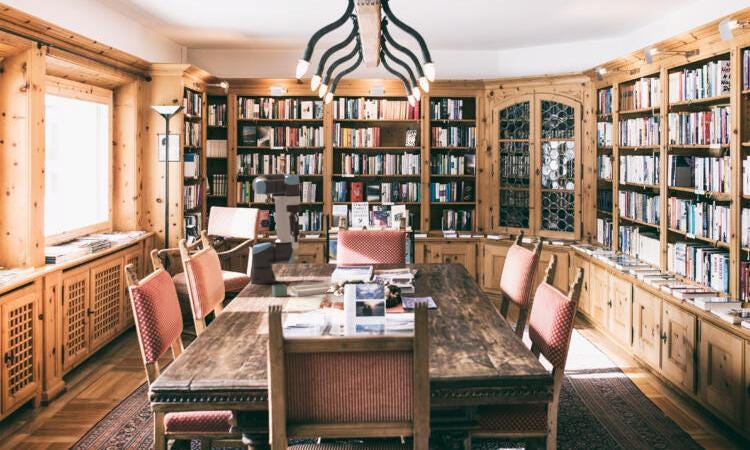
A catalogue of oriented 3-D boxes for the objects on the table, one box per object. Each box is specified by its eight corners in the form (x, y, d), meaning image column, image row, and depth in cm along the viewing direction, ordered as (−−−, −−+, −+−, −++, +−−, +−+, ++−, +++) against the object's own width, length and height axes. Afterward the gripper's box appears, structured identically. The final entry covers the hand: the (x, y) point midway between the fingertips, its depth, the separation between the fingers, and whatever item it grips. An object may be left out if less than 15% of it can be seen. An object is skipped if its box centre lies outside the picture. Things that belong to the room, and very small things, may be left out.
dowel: (292, 260, 370) (291, 231, 369) (297, 260, 371) (296, 231, 370) (293, 261, 368) (292, 231, 366) (298, 261, 369) (297, 231, 367)
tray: (290, 291, 377) (290, 287, 377) (329, 287, 385) (328, 283, 385) (298, 296, 363) (298, 291, 362) (338, 291, 371) (337, 287, 370)
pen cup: (272, 294, 370) (271, 285, 370) (284, 293, 372) (283, 284, 372) (275, 296, 364) (274, 287, 363) (287, 295, 366) (286, 286, 366)
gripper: (283, 204, 373) (285, 247, 375) (289, 205, 358) (291, 250, 360) (296, 203, 376) (298, 246, 378) (303, 204, 361) (305, 248, 363)
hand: (295, 247), depth 369 cm, fingers closed on dowel, 3 cm apart
